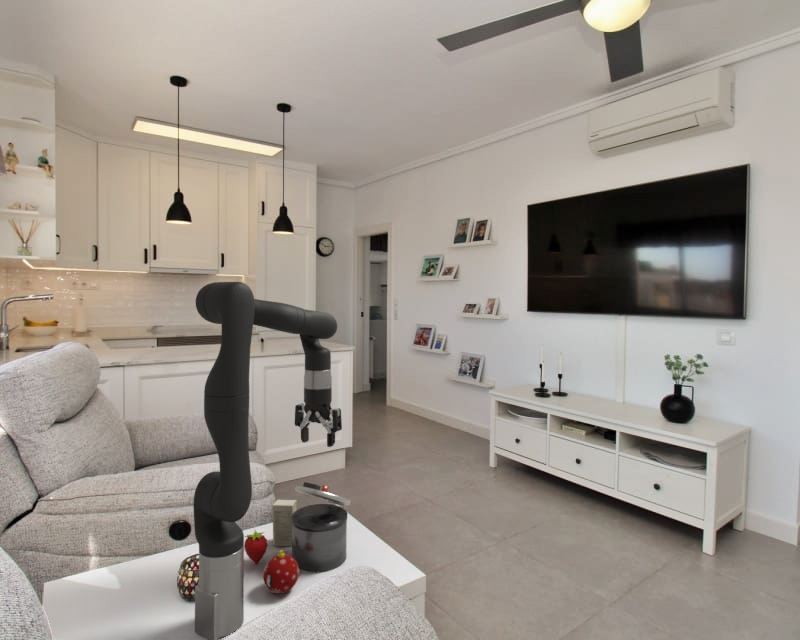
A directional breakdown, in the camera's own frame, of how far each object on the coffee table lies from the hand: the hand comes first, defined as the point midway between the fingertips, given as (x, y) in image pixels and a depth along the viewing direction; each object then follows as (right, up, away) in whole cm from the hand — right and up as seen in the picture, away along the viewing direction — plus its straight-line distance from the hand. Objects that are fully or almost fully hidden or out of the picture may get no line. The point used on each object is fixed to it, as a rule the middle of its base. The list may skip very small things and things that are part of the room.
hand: (317, 444), depth 132 cm
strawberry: (-16, -32, -2) cm, 36 cm away
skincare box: (-11, -32, +10) cm, 36 cm away
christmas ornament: (-7, -33, -14) cm, 36 cm away
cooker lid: (+1, -16, +3) cm, 16 cm away
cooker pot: (0, -32, +2) cm, 32 cm away
